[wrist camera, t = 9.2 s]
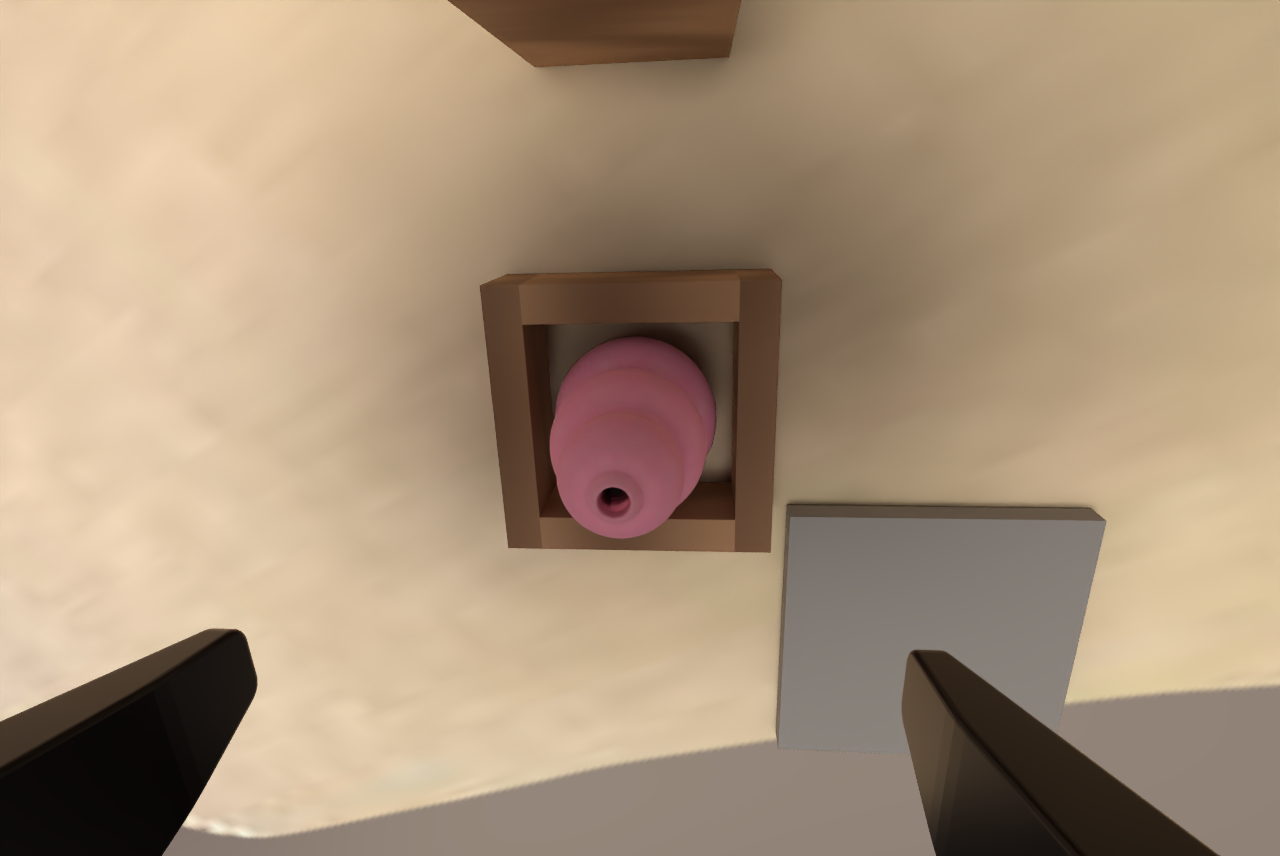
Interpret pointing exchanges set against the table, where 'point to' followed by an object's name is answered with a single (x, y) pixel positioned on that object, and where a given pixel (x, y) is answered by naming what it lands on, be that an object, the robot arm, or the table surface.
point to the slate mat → (925, 612)
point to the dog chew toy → (630, 435)
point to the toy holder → (627, 303)
